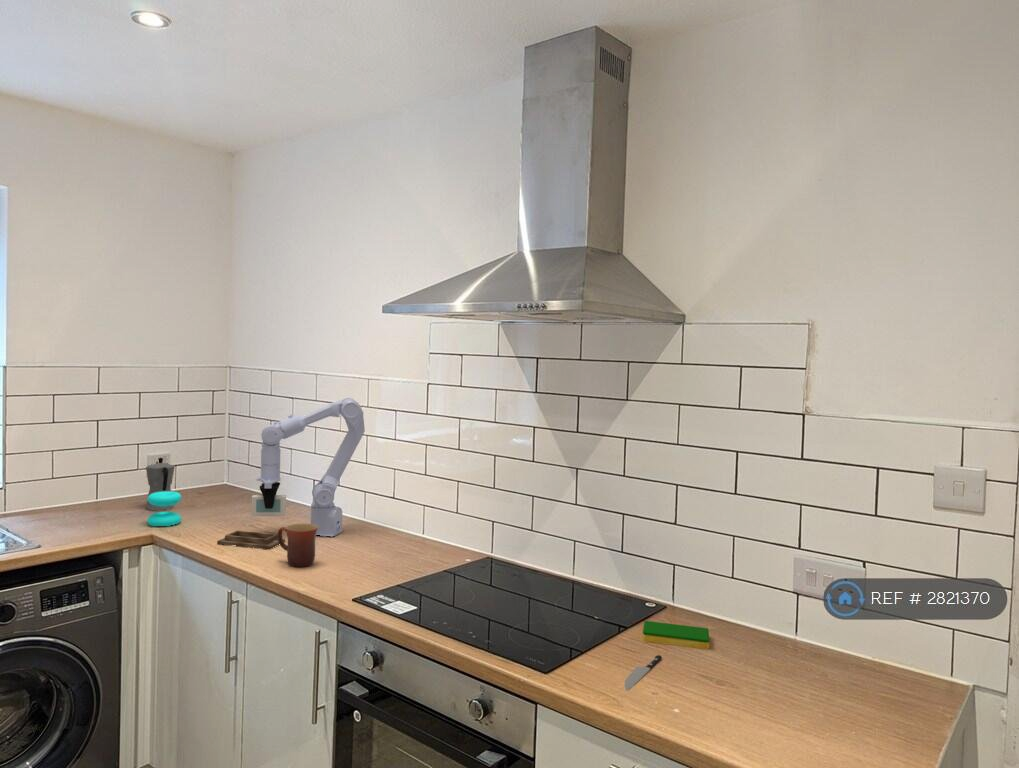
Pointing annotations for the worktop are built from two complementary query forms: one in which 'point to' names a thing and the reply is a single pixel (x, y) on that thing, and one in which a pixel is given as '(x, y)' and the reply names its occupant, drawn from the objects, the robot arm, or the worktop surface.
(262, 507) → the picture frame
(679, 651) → the worktop surface
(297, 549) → the mug
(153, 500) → the donuts
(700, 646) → the dish sponge
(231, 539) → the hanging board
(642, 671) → the chef's knife
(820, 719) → the worktop surface
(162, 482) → the coffeepot
